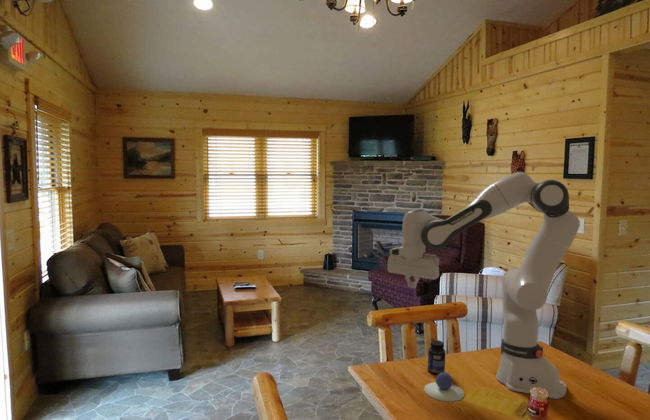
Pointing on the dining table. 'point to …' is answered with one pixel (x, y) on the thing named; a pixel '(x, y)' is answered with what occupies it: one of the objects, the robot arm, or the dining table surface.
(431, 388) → the disc
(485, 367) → the dining table surface
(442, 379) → the ball
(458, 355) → the dining table surface
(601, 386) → the dining table surface
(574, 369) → the dining table surface
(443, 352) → the pill bottle
